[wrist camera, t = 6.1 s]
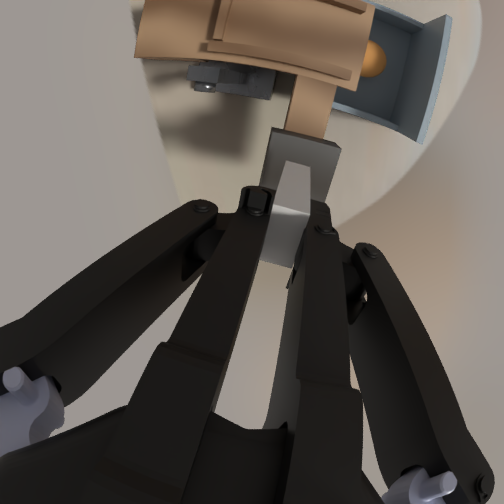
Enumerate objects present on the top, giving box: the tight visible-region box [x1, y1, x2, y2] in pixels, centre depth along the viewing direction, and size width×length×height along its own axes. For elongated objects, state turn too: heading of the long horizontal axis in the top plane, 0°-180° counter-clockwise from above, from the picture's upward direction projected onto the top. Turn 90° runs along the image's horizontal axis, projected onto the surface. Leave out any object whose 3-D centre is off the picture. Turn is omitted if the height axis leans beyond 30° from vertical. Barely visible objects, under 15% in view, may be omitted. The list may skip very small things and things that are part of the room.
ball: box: [360, 40, 387, 77], centre depth 19 cm, size 4×4×4 cm
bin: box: [332, 0, 452, 145], centre depth 17 cm, size 12×10×9 cm
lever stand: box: [186, 60, 277, 100], centre depth 17 cm, size 14×8×10 cm, turn 169°
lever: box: [134, 0, 375, 203], centre depth 18 cm, size 18×17×7 cm
